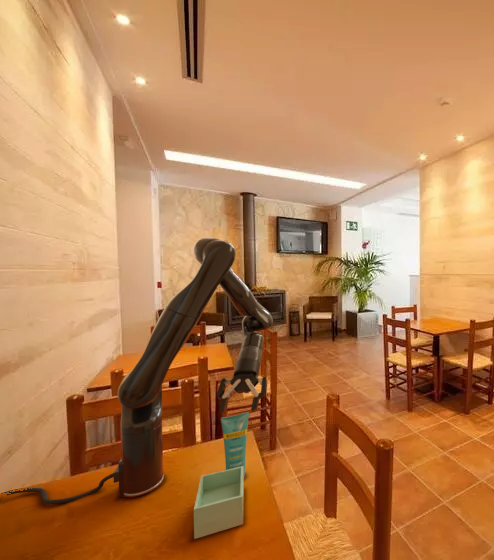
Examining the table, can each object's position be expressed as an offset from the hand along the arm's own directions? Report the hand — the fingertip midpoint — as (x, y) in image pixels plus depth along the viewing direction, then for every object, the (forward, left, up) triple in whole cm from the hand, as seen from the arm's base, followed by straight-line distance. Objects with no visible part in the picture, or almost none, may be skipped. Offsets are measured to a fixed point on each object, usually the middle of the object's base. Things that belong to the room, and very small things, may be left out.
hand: (238, 412), depth 90 cm
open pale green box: (-4, -15, -19) cm, 24 cm away
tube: (-1, -3, -19) cm, 19 cm away
